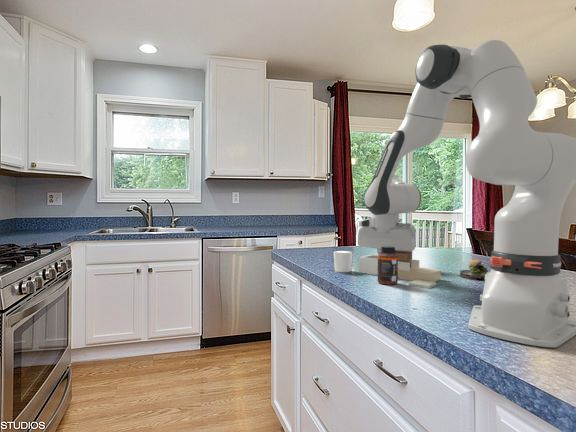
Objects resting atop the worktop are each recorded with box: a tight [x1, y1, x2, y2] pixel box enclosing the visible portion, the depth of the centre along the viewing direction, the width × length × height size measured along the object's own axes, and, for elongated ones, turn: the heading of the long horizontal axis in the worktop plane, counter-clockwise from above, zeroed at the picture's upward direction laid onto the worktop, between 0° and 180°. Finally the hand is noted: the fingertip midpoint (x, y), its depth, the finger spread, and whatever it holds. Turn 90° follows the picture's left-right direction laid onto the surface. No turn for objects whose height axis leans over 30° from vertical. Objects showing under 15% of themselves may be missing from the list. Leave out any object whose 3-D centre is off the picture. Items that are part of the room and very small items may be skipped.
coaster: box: [407, 280, 437, 289], centre depth 105 cm, size 6×6×1 cm
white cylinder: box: [332, 250, 353, 273], centre depth 127 cm, size 7×7×7 cm
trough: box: [358, 254, 442, 283], centre depth 119 cm, size 9×25×6 cm, turn 47°
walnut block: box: [395, 251, 413, 268], centre depth 118 cm, size 5×5×5 cm
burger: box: [459, 255, 490, 281], centre depth 117 cm, size 12×12×8 cm
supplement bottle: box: [377, 246, 399, 286], centre depth 107 cm, size 6×6×11 cm
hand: (384, 262), depth 122 cm, fingers closed
